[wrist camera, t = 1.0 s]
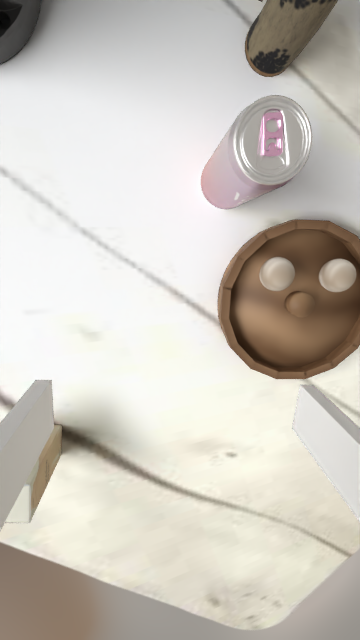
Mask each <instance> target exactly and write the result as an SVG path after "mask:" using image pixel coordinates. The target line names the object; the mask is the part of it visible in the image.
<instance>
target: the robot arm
mask: <svg viewBox="0 0 360 640" xmlns="http://www.w3.org/2000/svg"><path fill="white" fill-rule="evenodd" d="M40 4H41V0H0V64H1V63H3V62H5V61H7V60H8V59H10V58H11V57H13V56H14V55H15V54H17V53H18V52H19V51H20V50H21V49H22V47H23V46H24V45H25V44H26V42H27V41H28V39H29V38H30V36H31V34H32V32H33V30H34V28H35V25H36V22H37V19H38V15H39V10H40ZM53 429H54V415H53V396H52V380H35V382H34V383H33V384H32V385H31V386H30V388H29V389H28V390H27V391H26V392H25V394H24V395H23V396H22V397H21V399H20V400H19V401H18V402H17V403H16V405H15V406H14V407H13V408H12V409H11V411H10V412H9V413H8V414H7V415H6V417H5V418H4V419H3V420H2V422H1V423H0V531H1V529H2V527H3V525H4V523H5V521H6V519H7V517H8V515H9V513H10V511H11V509H12V508H13V506H14V504H15V502H16V500H17V498H18V496H19V494H20V492H21V490H22V488H23V487H24V485H25V483H26V481H27V479H28V477H29V475H30V473H31V471H32V469H33V467H34V465H35V464H36V462H37V460H38V458H39V456H40V454H41V452H42V450H43V448H44V446H45V444H46V443H47V441H48V439H49V437H50V435H51V433H52V431H53ZM292 429H293V430H294V432H295V433H296V435H297V436H298V437H299V439H300V440H301V441H302V443H303V444H304V446H305V447H306V448H307V450H308V451H309V453H310V454H311V455H312V457H313V458H314V460H315V461H316V462H317V464H318V465H319V466H320V468H321V469H322V471H323V472H324V473H325V475H326V476H327V478H328V479H329V480H330V482H331V483H332V484H333V486H334V487H335V489H336V490H337V491H338V493H339V494H340V496H341V497H342V498H343V500H344V501H345V503H346V504H347V505H348V507H349V508H350V509H351V511H352V512H353V514H354V515H355V516H356V518H357V519H358V521H359V522H360V428H359V427H358V426H357V425H356V424H355V423H354V422H353V421H352V420H351V419H350V418H349V417H348V416H346V415H345V414H344V413H343V412H342V411H341V410H340V409H339V408H338V407H337V406H336V405H335V404H334V403H332V402H331V401H330V400H329V399H328V398H327V397H326V396H325V395H324V394H323V393H322V392H321V391H319V390H318V389H317V388H316V387H315V386H314V385H300V388H299V393H298V399H297V404H296V410H295V415H294V420H293V426H292Z"/></svg>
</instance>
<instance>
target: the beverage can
mask: <svg viewBox="0 0 360 640" xmlns="http://www.w3.org/2000/svg"><path fill="white" fill-rule="evenodd" d="M311 145H312V130H311V125H310V122H309V119H308V117H307V115H306V113H305V112H304V110H303V109H302V108H301V106H300V105H298V104H297V103H296V102H295V101H293V100H292V99H290V98H287V97H284V96H279V95H272V96H266V97H263V98H261V99H259V100H257V101H255V102H254V103H252V104H251V105H249V106H248V107H246V108H245V109H244V110H243V111H242V112H241V113H240V114H239V115H238V117H237V118H236V119H235V121H234V123H233V124H232V126H231V127H230V129H229V130H228V132H227V133H226V135H225V136H224V138H223V139H222V141H221V142H220V144H219V145H218V147H217V149H216V150H215V152H214V153H213V155H212V156H211V158H210V159H209V161H208V162H207V164H206V165H205V167H204V169H203V172H202V175H201V188H202V192H203V194H204V196H205V198H206V199H207V200H208V201H209V202H210V203H211V204H212V205H214V206H215V207H218V208H221V209H230V208H234V207H236V206H238V205H241V204H243V203H245V202H247V201H250V200H252V199H254V198H257V197H259V196H261V195H263V194H266V193H268V192H270V191H272V190H275V189H277V188H279V187H281V186H283V185H285V184H286V183H288V182H289V181H290V180H291V179H293V178H294V176H295V175H296V174H297V173H298V172H299V171H300V170H301V169H302V167H303V166H304V164H305V163H306V161H307V159H308V156H309V154H310V150H311Z"/></svg>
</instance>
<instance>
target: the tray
mask: <svg viewBox="0 0 360 640" xmlns="http://www.w3.org/2000/svg"><path fill="white" fill-rule="evenodd" d="M273 257H282V258H285V259H287V260H289V261H290V262H291V263H292V265H293V267H294V270H295V277H294V280H293V282H292V283H291V285H290V286H289V287H287V288H286V289H284V290H281V291H272V290H269V289H267V288H266V287H264V286H263V284H262V283H261V281H260V277H259V273H260V269H261V267H262V265H263V264H264V263H265V262H266V261H267V260H268V259H271V258H273ZM333 259H345V260H347V261H349V262H350V263H352V264H353V266H354V267H355V269H356V279H355V282H354V283H353V285H352V286H351V287H350V288H348V289H347V290H345V291H342V292H331V291H328V290H326V289H325V288H324V287H323V286H322V285H321V283H320V281H319V272H320V270H321V268H322V267H323V265H324V264H325V263H327V262H328V261H330V260H333ZM218 317H219V321H220V325H221V328H222V331H223V333H224V335H225V337H226V340H227V343H228V345H229V346H230V348H231V349H232V350H233V351H234V352H235V353H236V354H237V355H238V356H239V357H240V358H241V359H242V360H243V361H244V362H245V363H246V364H247V365H248V366H249V367H250V368H251V369H253V370H256V371H258V372H260V373H263V374H265V375H268V376H270V377H273V378H275V379H307V378H309V377H312V376H314V375H317V374H320V373H322V372H325V371H328V370H330V369H333V368H335V367H336V366H337V365H338V364H339V363H341V362H342V361H343V360H344V359H345V358H346V357H348V356H349V355H350V354H351V353H352V352H354V351H355V350H356V349H357V348H358V347H359V345H360V240H359V238H358V237H357V236H356V235H355V234H353V233H351V232H349V231H347V230H345V229H343V228H341V227H340V226H338V225H336V224H334V223H332V222H330V221H321V220H290V221H288V222H285V223H282V224H279V225H276V226H273V227H270V228H268V229H266V230H264V231H262V232H259V233H258V234H257V235H256V236H254V237H253V238H251V239H250V240H249V241H248V242H247V243H245V244H244V245H243V246H242V247H241V248H240V249H239V251H238V252H237V253H236V254H235V256H234V257H233V258H232V260H231V261H230V263H229V265H228V267H227V268H226V270H225V273H224V275H223V278H222V280H221V284H220V288H219V294H218Z"/></svg>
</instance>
